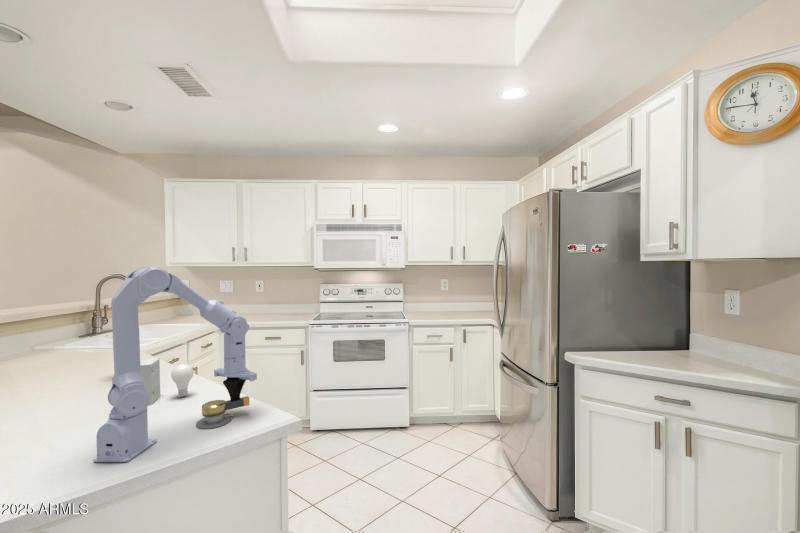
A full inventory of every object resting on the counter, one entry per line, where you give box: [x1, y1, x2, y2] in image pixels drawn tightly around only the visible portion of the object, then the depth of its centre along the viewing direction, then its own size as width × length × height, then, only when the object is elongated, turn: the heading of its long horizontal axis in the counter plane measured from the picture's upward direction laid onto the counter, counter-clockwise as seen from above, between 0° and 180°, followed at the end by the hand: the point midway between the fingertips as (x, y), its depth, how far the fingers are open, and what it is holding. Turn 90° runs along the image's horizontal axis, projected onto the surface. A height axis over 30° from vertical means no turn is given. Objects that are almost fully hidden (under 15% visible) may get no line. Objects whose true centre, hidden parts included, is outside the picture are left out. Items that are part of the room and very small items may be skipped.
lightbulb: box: [170, 363, 194, 398], centre depth 118 cm, size 6×6×11 cm
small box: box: [140, 358, 161, 406], centre depth 114 cm, size 8×6×13 cm
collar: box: [201, 395, 251, 418], centre depth 100 cm, size 12×6×2 cm, turn 125°
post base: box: [195, 413, 235, 430], centre depth 98 cm, size 9×9×2 cm
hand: (235, 402), depth 103 cm, fingers closed, pressing on collar
